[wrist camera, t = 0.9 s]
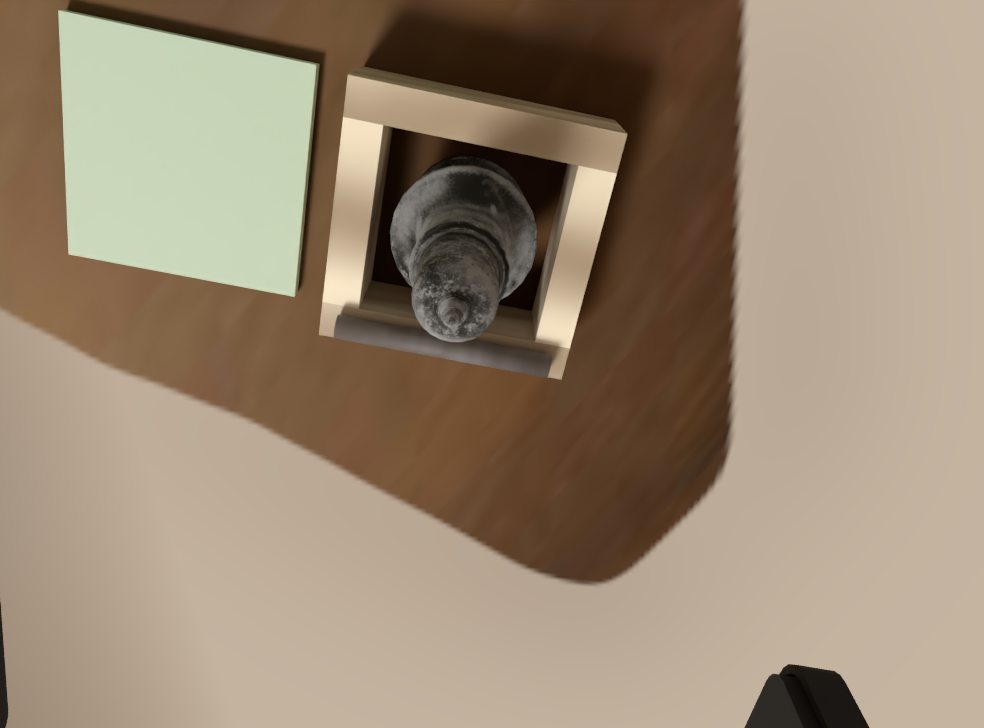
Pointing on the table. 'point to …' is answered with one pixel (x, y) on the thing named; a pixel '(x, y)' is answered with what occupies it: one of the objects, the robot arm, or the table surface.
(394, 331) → the holder
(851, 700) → the robot arm
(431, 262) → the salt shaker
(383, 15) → the table surface
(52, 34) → the table surface
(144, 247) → the mat
